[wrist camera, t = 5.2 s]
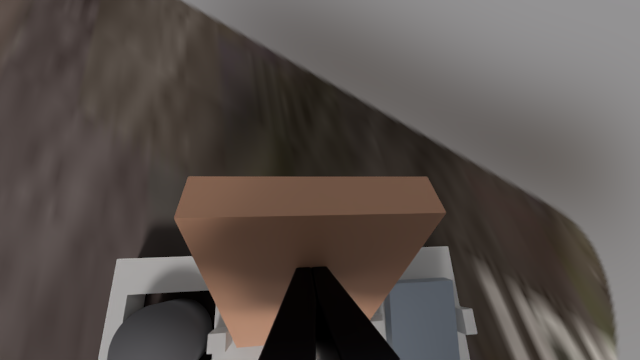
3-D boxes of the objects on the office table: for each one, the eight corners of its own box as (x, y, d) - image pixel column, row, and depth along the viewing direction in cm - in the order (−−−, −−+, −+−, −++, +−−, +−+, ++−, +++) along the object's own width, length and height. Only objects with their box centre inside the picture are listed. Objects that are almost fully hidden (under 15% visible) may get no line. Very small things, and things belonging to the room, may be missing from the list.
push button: (209, 369, 14) (191, 392, 12) (136, 376, 14) (98, 402, 11) (214, 296, 15) (199, 301, 13) (147, 300, 15) (116, 306, 12)
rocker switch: (451, 361, 15) (461, 369, 14) (388, 367, 14) (394, 376, 13) (443, 277, 15) (452, 280, 14) (383, 280, 15) (388, 283, 14)
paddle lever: (357, 337, 14) (446, 212, 6) (236, 347, 13) (174, 218, 5) (353, 312, 15) (427, 176, 7) (239, 320, 14) (187, 176, 6)
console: (455, 385, 16) (501, 414, 13) (108, 425, 14) (51, 476, 10) (431, 248, 19) (464, 243, 15) (136, 260, 16) (97, 257, 13)
